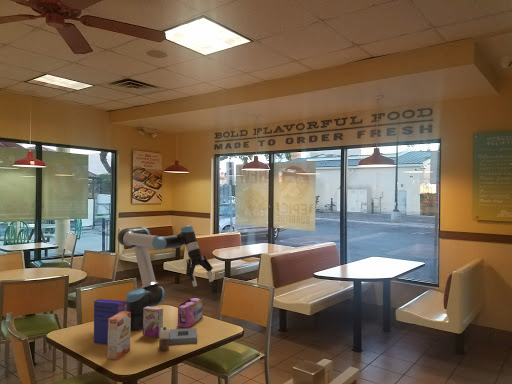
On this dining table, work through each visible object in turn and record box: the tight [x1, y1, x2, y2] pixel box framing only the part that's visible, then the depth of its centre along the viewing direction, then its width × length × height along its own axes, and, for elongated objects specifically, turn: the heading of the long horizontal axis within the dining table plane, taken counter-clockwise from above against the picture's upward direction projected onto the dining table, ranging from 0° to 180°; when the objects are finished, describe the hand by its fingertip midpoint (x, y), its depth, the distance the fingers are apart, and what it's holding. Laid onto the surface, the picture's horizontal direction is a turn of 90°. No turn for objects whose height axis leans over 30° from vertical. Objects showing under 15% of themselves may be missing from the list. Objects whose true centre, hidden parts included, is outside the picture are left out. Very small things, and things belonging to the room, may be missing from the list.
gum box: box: [177, 296, 204, 329], centre depth 261 cm, size 24×8×14 cm, turn 164°
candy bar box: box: [142, 306, 164, 338], centre depth 236 cm, size 11×5×16 cm, turn 71°
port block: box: [169, 327, 198, 345], centre depth 231 cm, size 16×16×3 cm
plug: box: [159, 326, 170, 339], centre depth 217 cm, size 4×6×11 cm
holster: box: [158, 333, 170, 352], centre depth 217 cm, size 5×10×6 cm, turn 10°
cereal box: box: [93, 298, 126, 346], centre depth 223 cm, size 17×5×24 cm, turn 76°
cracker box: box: [106, 311, 131, 361], centre depth 207 cm, size 14×6×21 cm, turn 170°
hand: (203, 283), depth 235 cm, fingers open, 13 cm apart
